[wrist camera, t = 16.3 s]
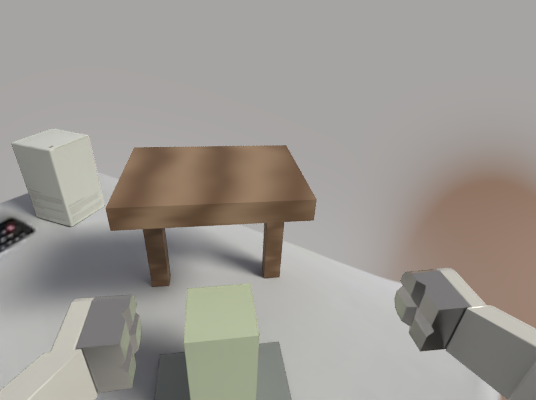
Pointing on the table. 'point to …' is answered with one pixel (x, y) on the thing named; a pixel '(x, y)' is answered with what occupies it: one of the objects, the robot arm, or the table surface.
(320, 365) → the table surface
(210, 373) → the sage block
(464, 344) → the robot arm
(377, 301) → the table surface
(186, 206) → the shelf stand
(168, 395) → the slate mat
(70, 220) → the supplement box
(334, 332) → the table surface
